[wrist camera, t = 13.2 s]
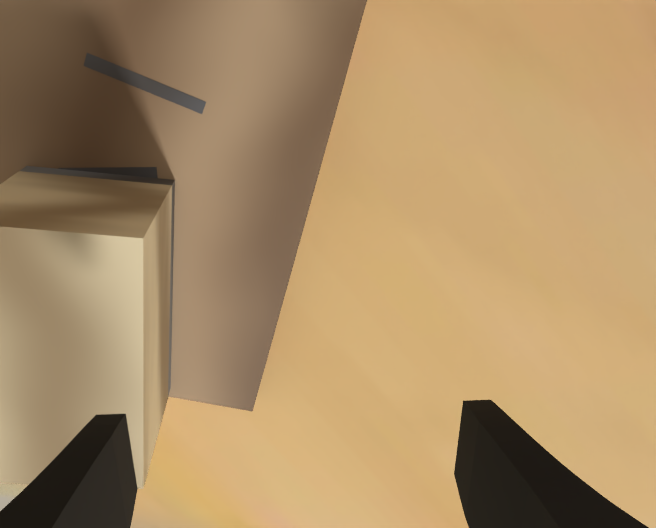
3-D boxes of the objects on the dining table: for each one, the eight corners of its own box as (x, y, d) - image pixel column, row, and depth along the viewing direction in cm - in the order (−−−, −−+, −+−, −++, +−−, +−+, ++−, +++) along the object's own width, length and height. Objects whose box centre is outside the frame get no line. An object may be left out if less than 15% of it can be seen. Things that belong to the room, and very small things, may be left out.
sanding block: (175, 179, 19) (143, 238, 15) (170, 387, 22) (143, 488, 18) (26, 165, 19) (-54, 222, 14) (43, 380, 22) (-18, 482, 17)
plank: (438, -281, 16) (451, -301, 15) (253, 392, 24) (252, 411, 23) (-48, -477, 14) (-76, -517, 13) (-69, 333, 22) (-87, 351, 21)
